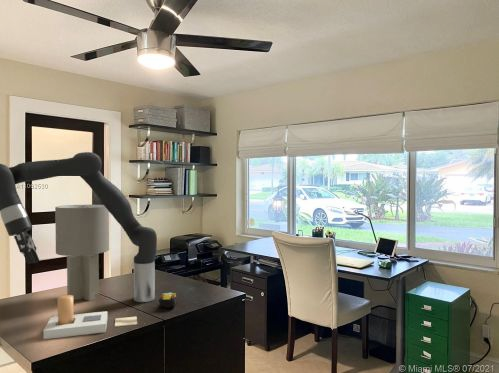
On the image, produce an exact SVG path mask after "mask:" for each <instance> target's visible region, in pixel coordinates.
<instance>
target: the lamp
mask: <svg viewBox="0 0 499 373" xmlns="http://www.w3.org/2000/svg"><path fill="white" fill-rule="evenodd" d="M54 208H55V214H54V215H55V219H54V220H55V226H54V227H55V254H56V255H58V256H64V257H66V277H67V278H66V281H67V283H66V287H67V288H66V290H67V293H66V295H73V302H75V301H77V300H82V299H83V300H85V301H89V302H91V301H94V300H95V296H98V295H100V283H99V282H100V278H99V277H100V275H99V274H100V272H99V269H100V265H99V259H100V258H99V254H103V253H107V252H108V251H110V212H109V211H108V210H107V209H106V207H105V206H104V205H103V204H69V205H59V206H55V207H54Z"/></svg>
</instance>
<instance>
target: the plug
mask: <svg viewBox="0 0 499 373" xmlns="http://www.w3.org/2000/svg"><path fill="white" fill-rule="evenodd" d="M74 315H75V312H74V301H73V295H67V294H64V295H60V296H58V297H57V316H58V325H64V324H74Z"/></svg>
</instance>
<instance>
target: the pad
mask: <svg viewBox="0 0 499 373" xmlns="http://www.w3.org/2000/svg"><path fill="white" fill-rule="evenodd" d="M137 325H138V318H137V316H129V317H118V318H115V320H114V327H115V328H118V327H127V326H129V327H130V326H137Z"/></svg>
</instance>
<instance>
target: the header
mask: <svg viewBox="0 0 499 373" xmlns="http://www.w3.org/2000/svg"><path fill="white" fill-rule="evenodd" d="M107 324H108V311H105V310H104V311H96V312H88V313H87V312H85V313H77V314H75V313H74V324H64V325H58V315H57V316H51V317H50V318H49V320H48V322H47V324H46V326H45V327H44V328H43V340H49V339H59V338H66V337H74V336H83V335H84V336H85V335H94V334H101V333H106V332H107Z"/></svg>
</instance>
